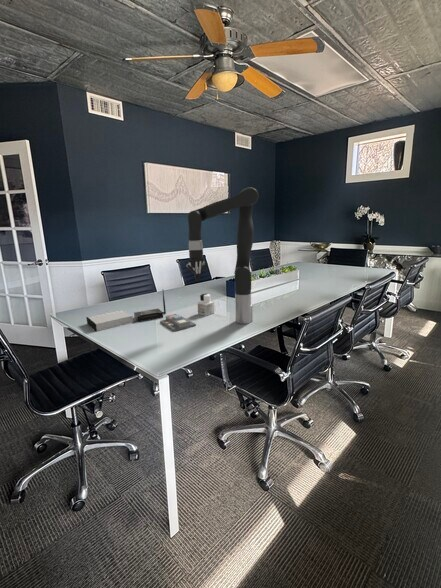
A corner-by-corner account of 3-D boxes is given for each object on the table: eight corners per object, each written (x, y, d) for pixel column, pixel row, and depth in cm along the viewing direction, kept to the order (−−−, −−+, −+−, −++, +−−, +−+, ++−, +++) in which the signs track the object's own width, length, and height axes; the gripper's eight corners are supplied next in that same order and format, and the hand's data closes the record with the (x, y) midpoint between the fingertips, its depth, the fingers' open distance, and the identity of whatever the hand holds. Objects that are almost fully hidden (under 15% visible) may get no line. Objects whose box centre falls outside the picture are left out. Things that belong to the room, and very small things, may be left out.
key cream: (183, 322, 172) (183, 319, 172) (187, 324, 169) (187, 321, 168) (176, 324, 170) (176, 321, 170) (180, 326, 166) (180, 323, 166)
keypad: (181, 317, 186) (180, 312, 185) (195, 325, 171) (195, 320, 170) (160, 322, 179) (159, 317, 178) (173, 331, 163) (173, 325, 162)
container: (197, 313, 193) (196, 294, 190) (206, 311, 198) (205, 292, 195) (206, 316, 188) (205, 296, 185) (214, 313, 193) (213, 293, 190)
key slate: (179, 317, 177) (178, 314, 176) (182, 319, 173) (182, 316, 173) (172, 319, 175) (172, 316, 174) (175, 321, 171) (175, 317, 170)
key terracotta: (174, 317, 182) (174, 314, 182) (178, 319, 179) (177, 316, 178) (168, 319, 180) (168, 316, 179) (171, 321, 176) (171, 317, 176)
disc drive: (87, 324, 181) (86, 317, 180) (123, 316, 195) (122, 309, 193) (95, 332, 168) (94, 324, 166) (133, 323, 181) (132, 315, 180)
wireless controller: (138, 323, 180) (135, 296, 175) (134, 317, 192) (131, 291, 188) (170, 317, 188) (168, 291, 184) (163, 312, 200) (161, 287, 196)
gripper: (202, 247, 167) (204, 277, 171) (181, 249, 159) (183, 280, 164) (209, 248, 160) (211, 279, 165) (188, 250, 153) (190, 282, 158)
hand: (197, 280), depth 164 cm, fingers closed
